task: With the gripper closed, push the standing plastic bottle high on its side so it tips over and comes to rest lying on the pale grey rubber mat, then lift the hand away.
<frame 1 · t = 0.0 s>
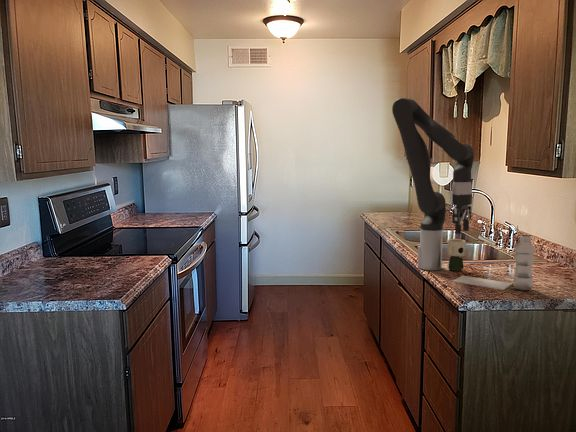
hand: (462, 232, 196), 17 cm above the countertop, tool pointing down, fingers open, 8 cm apart
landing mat: (482, 282, 183), on the countertop
character mug: (455, 270, 203), on the countertop
plastic bottle: (522, 290, 174), on the countertop
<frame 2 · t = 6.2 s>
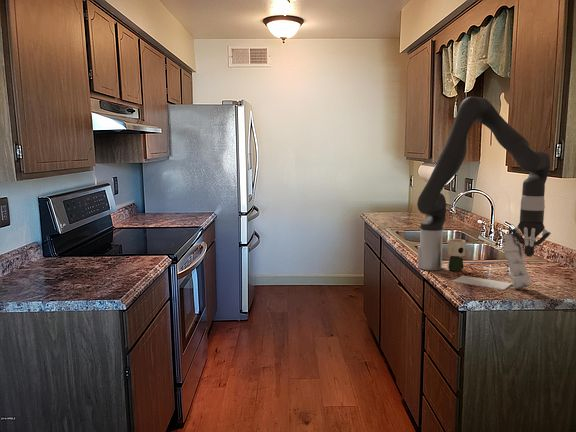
hand: (529, 256, 171), 13 cm above the countertop, tool pointing down, fingers closed
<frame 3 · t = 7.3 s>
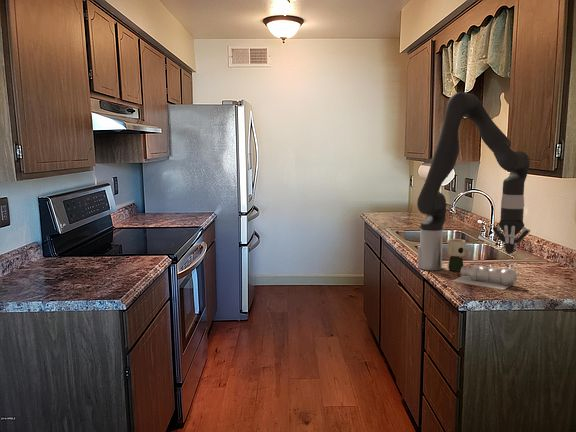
hand: (509, 253, 175), 13 cm above the countertop, tool pointing down, fingers closed
plastic bottle: (516, 278, 176), point 4 cm above the countertop, touching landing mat
everything else where it was.
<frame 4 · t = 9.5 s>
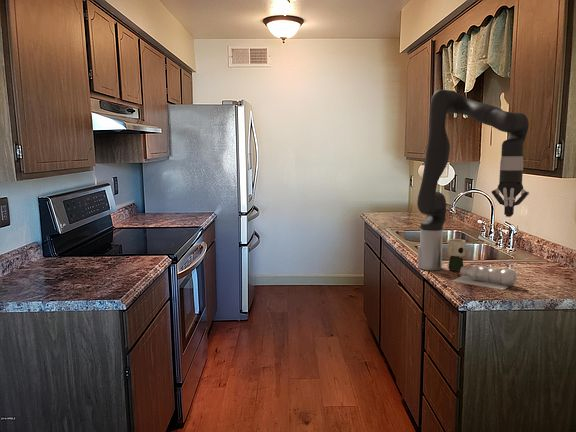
hand: (508, 216, 174), 26 cm above the countertop, tool pointing down, fingers closed
nothing on the countertop moved.
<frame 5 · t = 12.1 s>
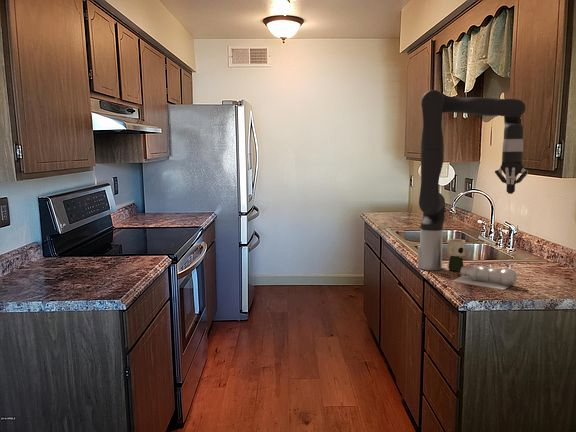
hand: (510, 193, 194), 33 cm above the countertop, tool pointing down, fingers closed
nothing on the countertop moved.
at the end: plastic bottle tilted 90°; plastic bottle touching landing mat; the gripper is holding nothing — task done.
